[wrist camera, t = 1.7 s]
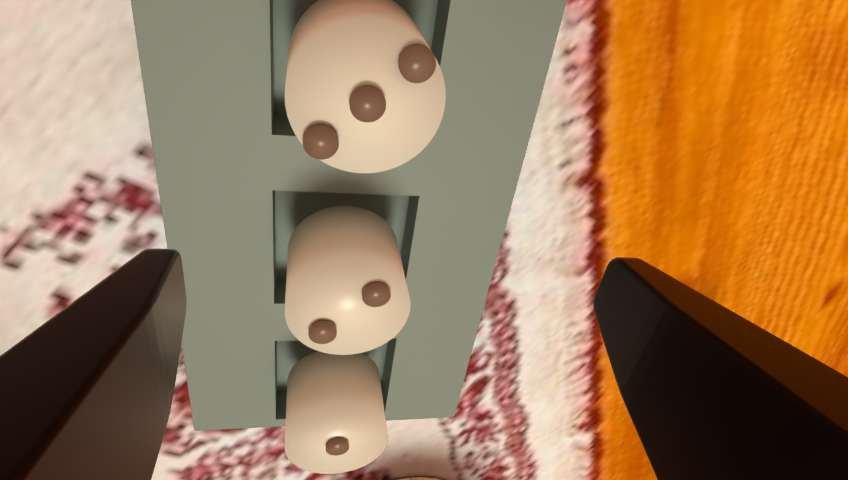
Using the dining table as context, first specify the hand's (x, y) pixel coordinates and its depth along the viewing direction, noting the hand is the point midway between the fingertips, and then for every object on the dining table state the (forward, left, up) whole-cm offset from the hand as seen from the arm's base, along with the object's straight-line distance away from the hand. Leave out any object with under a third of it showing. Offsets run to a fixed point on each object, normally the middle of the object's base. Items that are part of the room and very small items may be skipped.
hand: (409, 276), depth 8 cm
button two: (0, -7, -10) cm, 12 cm away
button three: (0, 0, -10) cm, 10 cm away
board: (0, -7, -12) cm, 14 cm away
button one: (0, -14, -10) cm, 17 cm away
